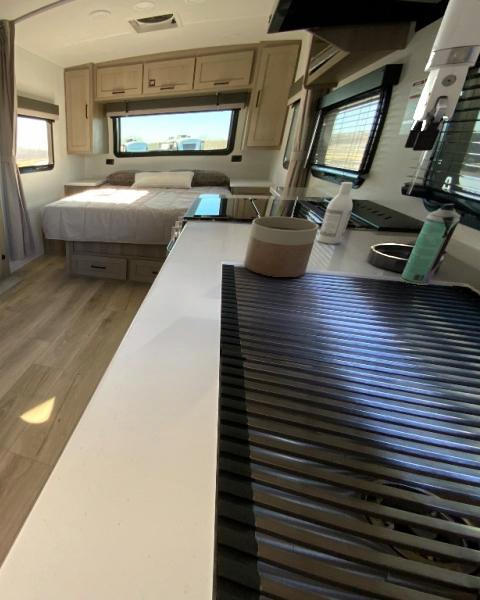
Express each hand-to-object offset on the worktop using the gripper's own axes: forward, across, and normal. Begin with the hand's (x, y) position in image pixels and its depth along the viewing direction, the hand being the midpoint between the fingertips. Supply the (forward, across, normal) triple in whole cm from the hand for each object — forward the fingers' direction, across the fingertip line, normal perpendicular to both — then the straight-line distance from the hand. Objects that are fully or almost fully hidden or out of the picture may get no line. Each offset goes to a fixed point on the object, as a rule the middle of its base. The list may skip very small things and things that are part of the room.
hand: (417, 149), depth 78 cm
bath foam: (+32, +28, +9) cm, 44 cm away
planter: (+32, -8, +23) cm, 40 cm away
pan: (+32, +11, -8) cm, 35 cm away
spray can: (+32, -2, -9) cm, 33 cm away
